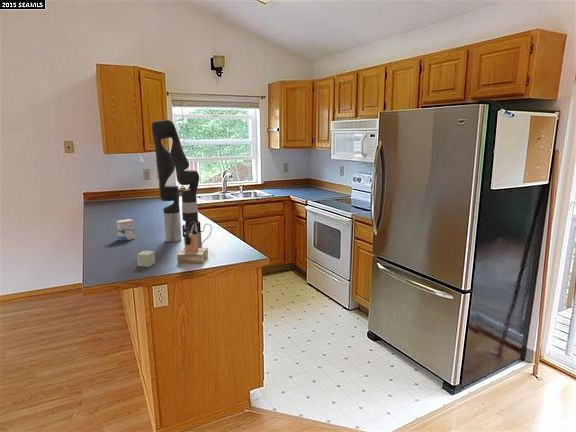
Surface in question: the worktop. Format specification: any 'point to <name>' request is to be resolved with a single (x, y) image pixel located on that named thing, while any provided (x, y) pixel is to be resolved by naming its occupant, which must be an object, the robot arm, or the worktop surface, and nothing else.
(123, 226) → the ink box
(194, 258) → the birch block
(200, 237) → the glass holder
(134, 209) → the worktop surface
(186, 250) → the terracotta block
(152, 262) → the sage cube
